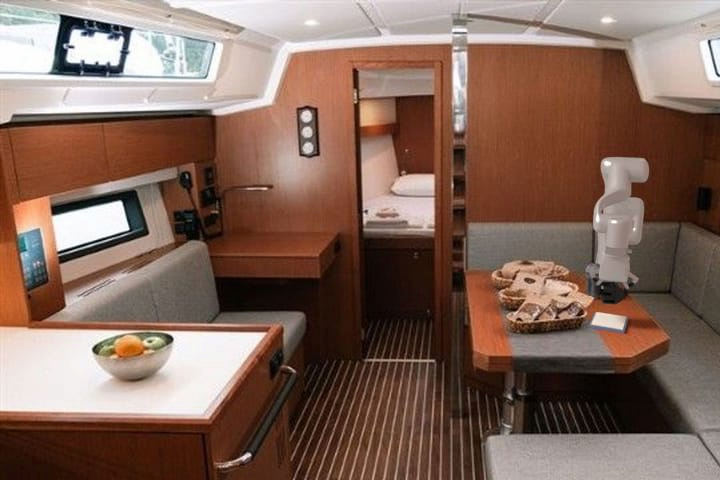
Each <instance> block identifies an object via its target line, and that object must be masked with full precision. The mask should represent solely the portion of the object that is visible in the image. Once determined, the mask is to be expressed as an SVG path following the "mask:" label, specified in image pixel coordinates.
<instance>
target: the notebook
mask: <svg viewBox="0 0 720 480" xmlns="http://www.w3.org/2000/svg"><path fill="white" fill-rule="evenodd" d="M628 322H629V317H628V316H624V315H619V314H612V313H605V312H599V311H595V312H594V314H593V316H592V318H591V320H590V322H589V324H588V328H591V329H597V330H603V331H607V332H612V333H613V332H614V333H620V334H625V331H626V328H627V325H628Z"/></svg>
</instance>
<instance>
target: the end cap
mask: <svg viewBox="0 0 720 480" xmlns="http://www.w3.org/2000/svg"><path fill="white" fill-rule="evenodd" d="M601 284H602V286H603V288H604V289H601V294H600V296H599V298H600V300H601V303H602V304H604V305H605V304H606V305H618V304H619V303H621V302H622V301H624V296H625V294H624V289H623V288H622V286H621V284H620V283H619V282H605V281H602V282H601Z"/></svg>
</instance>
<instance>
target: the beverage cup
mask: <svg viewBox="0 0 720 480" xmlns="http://www.w3.org/2000/svg"><path fill="white" fill-rule="evenodd" d="M598 254H599V253H598V252H597V253H596V259H595V262H591V263H589V264H588V265H587V266H586V268H585V271H584V272H585V296H586V295H588V296H592V297H594V300H593V301H596V300H598V297H599V296H598V293H596V290H597V285H596V283H595V282H594V281H593V280H592V278H591V276H590V272H592V271H594V270H597V269H599V268H600V264H598V263H597V260H598ZM595 277H596V278H597V279H598V280H599V273H597V274H595Z"/></svg>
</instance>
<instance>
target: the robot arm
mask: <svg viewBox="0 0 720 480" xmlns="http://www.w3.org/2000/svg"><path fill="white" fill-rule="evenodd" d="M600 172H601V175H602V179H603V182H604V194H603V195H602V196H601V197H600V198H599V199H598V200H597V202H596V203H595V206H594V208H593V221H592V226H593V227H592V228H593V230H594V231H595V232H596V233H597V253H599V254H598V260H597V263H598V264H600V268H599V269H597V270H594V271H592V272H590V276H591V278H592V280H593V281H594V282H595V283H596V285H597V290H596V293H598V297H600V295H601V289H604V288H603V286H602V284H601V282H602V281H605V282H618V283H619V284H620V283H621V284H622V285H623V287H624V289H623V291H624V294H625V296H624V299H623V301H624V300H626V298H628V297H629V289H630V288H632V287H634V286H635V284H636V283H638V281H639V277H637V276H636V275H634V274H633V273H632V272H631V271H630V270H631V267H630V266H631V257H630V254H631V255H632V253H633V250H632V249H630V248H629V245H632V246H633V245H634V246H635V245H638V244H640V242H641V240H642V234H643V224H644V215H645V214H644V213H645V204H644V201H643V199H641V198H639V197H633V196H632V183H645V182H646V181H647V180H648V178H649V174H650V166H649V163H648V161H647V160H646V159H645V158H643V157H624V156H608V157H604V158H603V159H602V160H601V162H600ZM631 196H632V197H631ZM602 211H603V212H602ZM597 273H599V280H598V279H597V278H596V277H595V274H597ZM629 278H630V279H632V281H630V282H628V280H630V279H629Z"/></svg>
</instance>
